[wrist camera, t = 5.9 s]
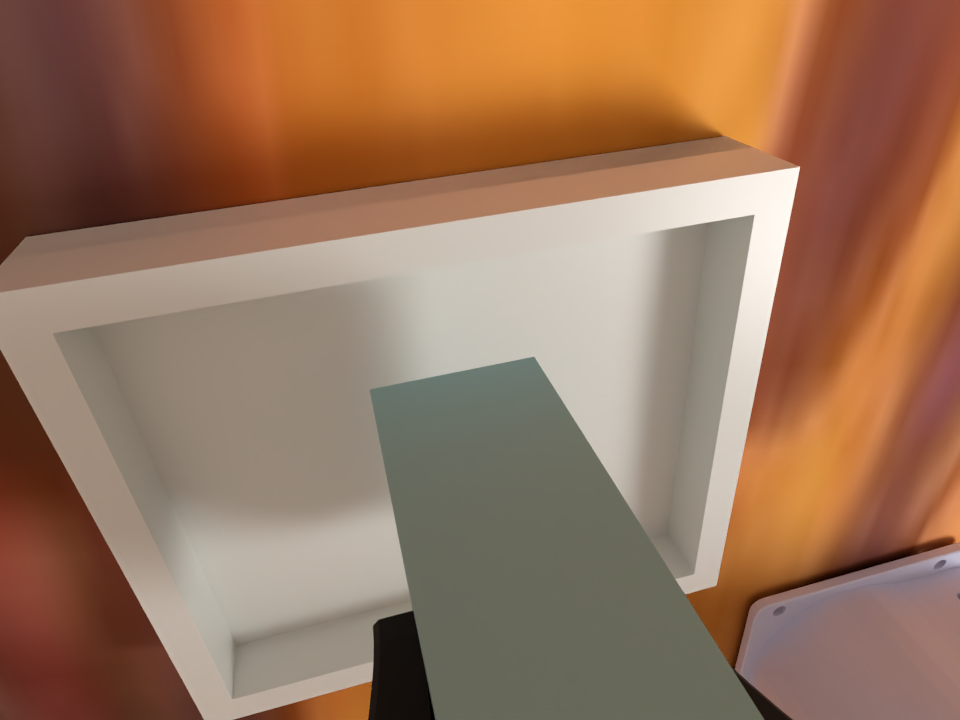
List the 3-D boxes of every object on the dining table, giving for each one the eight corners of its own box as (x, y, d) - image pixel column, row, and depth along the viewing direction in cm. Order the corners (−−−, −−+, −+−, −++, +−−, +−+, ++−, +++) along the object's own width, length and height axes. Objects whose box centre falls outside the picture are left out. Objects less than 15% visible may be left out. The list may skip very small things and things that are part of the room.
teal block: (540, 575, 15) (701, 960, 9) (412, 609, 15) (498, 1038, 9) (534, 356, 12) (774, 735, 6) (369, 389, 11) (459, 839, 6)
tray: (724, 135, 14) (799, 166, 12) (673, 523, 21) (716, 585, 19) (25, 236, 12) (-29, 296, 10) (216, 639, 18) (207, 726, 16)
